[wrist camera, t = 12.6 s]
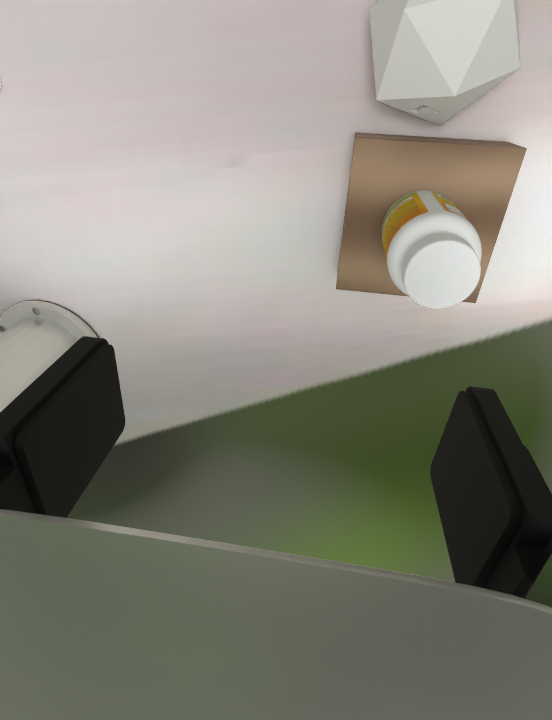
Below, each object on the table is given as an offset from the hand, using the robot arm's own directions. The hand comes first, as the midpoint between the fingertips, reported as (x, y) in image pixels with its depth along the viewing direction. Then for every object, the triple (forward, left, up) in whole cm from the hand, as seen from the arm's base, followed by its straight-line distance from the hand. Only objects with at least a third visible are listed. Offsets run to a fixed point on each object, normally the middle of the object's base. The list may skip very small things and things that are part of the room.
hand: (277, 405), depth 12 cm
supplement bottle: (-1, -7, -24) cm, 25 cm away
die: (+10, -6, -28) cm, 30 cm away
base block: (-1, -7, -28) cm, 28 cm away
